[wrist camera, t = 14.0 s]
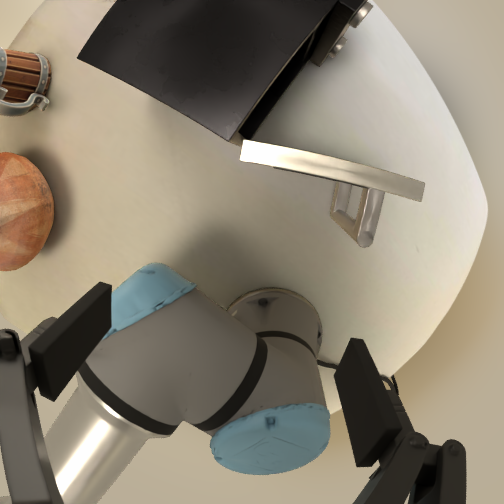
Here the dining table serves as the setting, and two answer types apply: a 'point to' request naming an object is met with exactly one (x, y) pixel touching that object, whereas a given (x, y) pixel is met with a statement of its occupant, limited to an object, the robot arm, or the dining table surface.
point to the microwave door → (339, 183)
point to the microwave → (219, 53)
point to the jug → (22, 211)
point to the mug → (23, 82)
